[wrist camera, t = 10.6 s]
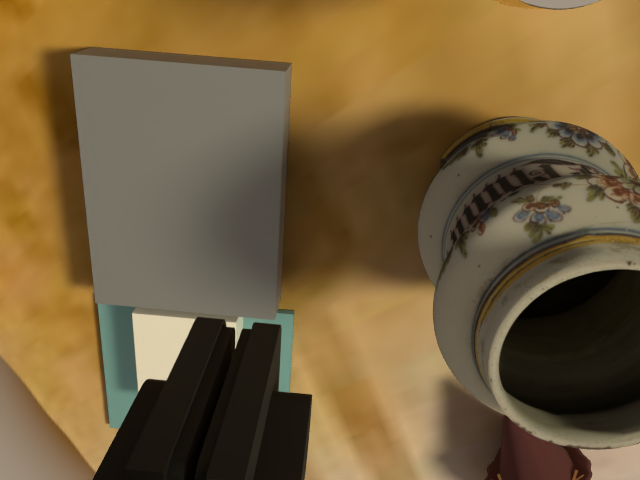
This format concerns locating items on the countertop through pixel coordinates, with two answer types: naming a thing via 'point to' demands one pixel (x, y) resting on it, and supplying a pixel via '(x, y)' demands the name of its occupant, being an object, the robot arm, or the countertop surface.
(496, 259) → the apothecary jar
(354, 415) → the countertop surface
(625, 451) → the countertop surface
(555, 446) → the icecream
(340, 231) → the countertop surface
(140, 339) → the tile
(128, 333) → the mat
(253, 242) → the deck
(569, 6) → the beer glass
